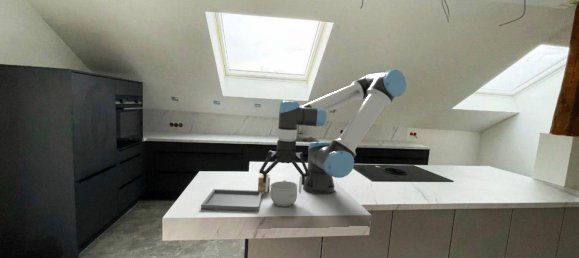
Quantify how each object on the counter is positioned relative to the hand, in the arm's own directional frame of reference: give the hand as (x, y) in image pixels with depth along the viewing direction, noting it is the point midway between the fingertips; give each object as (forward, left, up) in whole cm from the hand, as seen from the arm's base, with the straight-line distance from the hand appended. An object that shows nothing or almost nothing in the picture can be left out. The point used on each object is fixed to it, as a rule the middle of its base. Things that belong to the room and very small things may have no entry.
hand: (283, 191), depth 106 cm
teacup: (0, 0, -5) cm, 5 cm away
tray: (+20, +1, -5) cm, 20 cm away
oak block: (+9, -13, -5) cm, 16 cm away
